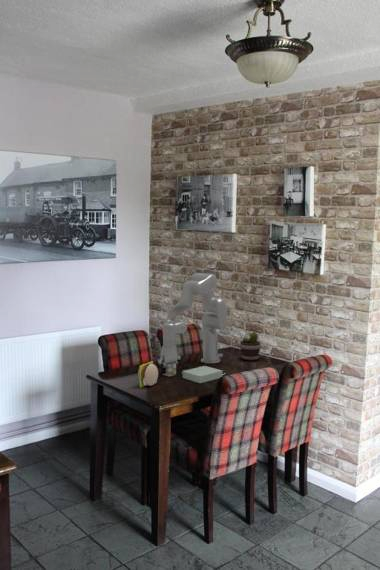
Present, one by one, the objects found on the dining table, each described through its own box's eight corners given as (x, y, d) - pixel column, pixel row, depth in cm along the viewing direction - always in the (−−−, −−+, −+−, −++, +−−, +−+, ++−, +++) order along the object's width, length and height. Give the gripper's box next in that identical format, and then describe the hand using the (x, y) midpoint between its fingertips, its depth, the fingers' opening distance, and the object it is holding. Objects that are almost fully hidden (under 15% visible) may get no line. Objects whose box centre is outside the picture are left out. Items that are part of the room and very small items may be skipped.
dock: (204, 372, 340) (204, 365, 340) (222, 377, 329) (222, 370, 329) (182, 377, 328) (182, 371, 328) (200, 383, 317) (200, 376, 317)
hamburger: (148, 388, 307) (148, 367, 306) (136, 386, 311) (136, 365, 310) (161, 383, 317) (160, 362, 316) (148, 381, 322) (148, 360, 320)
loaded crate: (170, 373, 339) (170, 361, 338) (176, 374, 335) (176, 363, 334) (163, 374, 335) (163, 363, 334) (169, 376, 331) (168, 365, 330)
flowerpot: (234, 358, 373) (234, 329, 371) (252, 355, 382) (252, 326, 379) (248, 363, 361) (248, 332, 359) (266, 359, 369) (266, 330, 367)
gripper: (176, 340, 341) (176, 368, 343) (153, 344, 330) (154, 373, 332) (184, 342, 336) (184, 370, 338) (162, 346, 324) (162, 376, 326)
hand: (169, 372), depth 335 cm, fingers open, 8 cm apart
